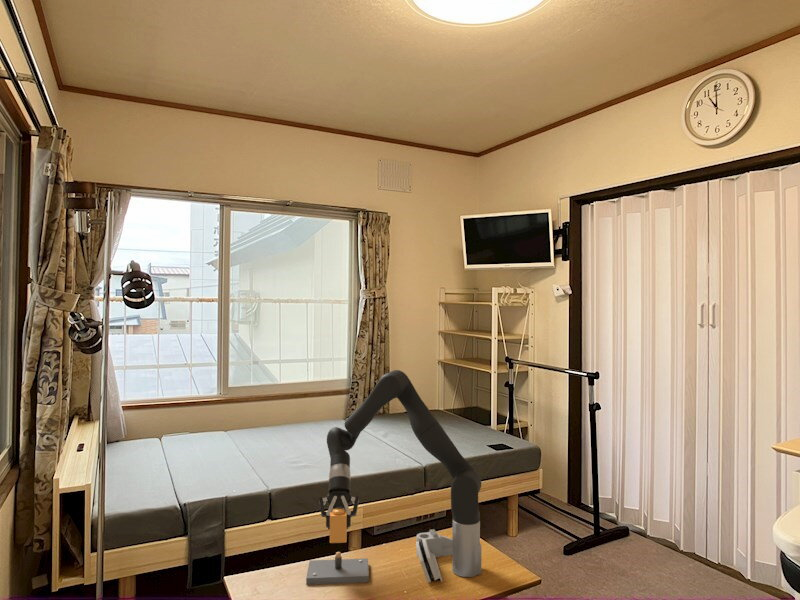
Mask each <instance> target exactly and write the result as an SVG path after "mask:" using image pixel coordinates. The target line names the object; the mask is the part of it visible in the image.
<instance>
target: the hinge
mask: <svg viewBox="0 0 800 600" xmlns="http://www.w3.org/2000/svg"><path fill="white" fill-rule="evenodd" d="M421 543H422V545H421ZM415 547H416V548H417V552H418V556H419V557H418V556H417V557H418V559H419V562H420V565H421V567H422V570H423V573H424V578H425V579H426V583H431V582H432V581H437V580H438V579H440V582H441V583H443V578H442V574H441V571H440V568H439V565H438V561H437V557H435V555H434V554H433V553H431V552H430V550H429V547H428V544H427V542H426V539H422V541H421V542H420V541H418V542H415ZM422 547H423V548H422ZM416 548H415V549H416Z"/></svg>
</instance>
